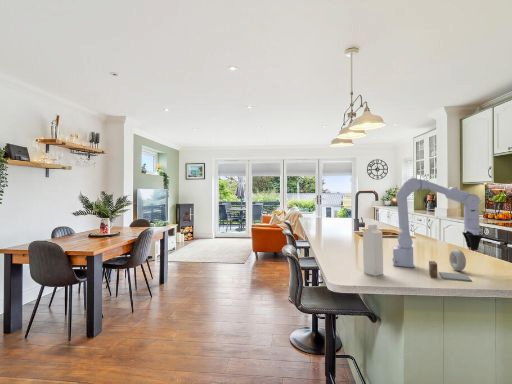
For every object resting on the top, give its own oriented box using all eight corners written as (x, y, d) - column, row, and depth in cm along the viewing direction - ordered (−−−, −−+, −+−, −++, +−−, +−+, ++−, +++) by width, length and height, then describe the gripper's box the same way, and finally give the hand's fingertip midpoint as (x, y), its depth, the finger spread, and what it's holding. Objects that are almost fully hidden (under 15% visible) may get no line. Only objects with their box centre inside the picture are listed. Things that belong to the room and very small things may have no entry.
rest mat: (442, 278, 122) (442, 277, 122) (439, 273, 132) (439, 271, 132) (471, 281, 118) (471, 280, 118) (465, 275, 127) (465, 274, 127)
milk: (383, 274, 131) (382, 225, 132) (374, 276, 128) (373, 225, 129) (372, 271, 137) (371, 224, 137) (363, 273, 134) (362, 224, 134)
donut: (468, 273, 131) (467, 251, 131) (459, 273, 131) (459, 251, 131) (455, 268, 140) (455, 247, 141) (447, 268, 141) (447, 247, 141)
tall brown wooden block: (431, 277, 125) (430, 263, 125) (429, 274, 130) (428, 260, 130) (437, 278, 124) (437, 264, 124) (435, 274, 129) (435, 261, 129)
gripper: (486, 220, 128) (487, 251, 128) (477, 218, 141) (478, 246, 141) (467, 220, 131) (468, 250, 131) (460, 218, 144) (461, 245, 144)
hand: (472, 248), depth 136 cm, fingers open, 7 cm apart
